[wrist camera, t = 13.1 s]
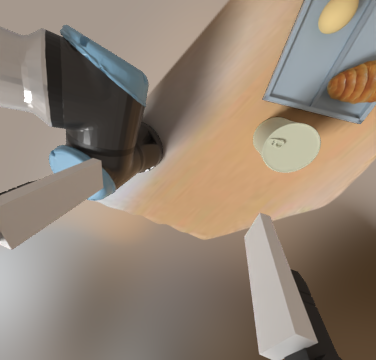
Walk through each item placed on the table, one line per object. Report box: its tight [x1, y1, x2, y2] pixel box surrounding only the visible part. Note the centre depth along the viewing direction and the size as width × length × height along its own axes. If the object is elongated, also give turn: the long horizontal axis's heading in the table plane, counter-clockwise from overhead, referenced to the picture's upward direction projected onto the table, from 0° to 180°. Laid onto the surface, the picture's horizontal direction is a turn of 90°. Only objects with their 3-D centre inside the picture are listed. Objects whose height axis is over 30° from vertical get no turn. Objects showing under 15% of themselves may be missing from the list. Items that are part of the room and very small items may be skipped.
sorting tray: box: [262, 0, 376, 124], centre depth 27 cm, size 20×22×2 cm
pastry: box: [327, 60, 376, 104], centre depth 26 cm, size 9×7×4 cm
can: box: [253, 117, 321, 173], centre depth 31 cm, size 9×9×12 cm
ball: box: [318, 0, 359, 34], centre depth 24 cm, size 5×5×5 cm
